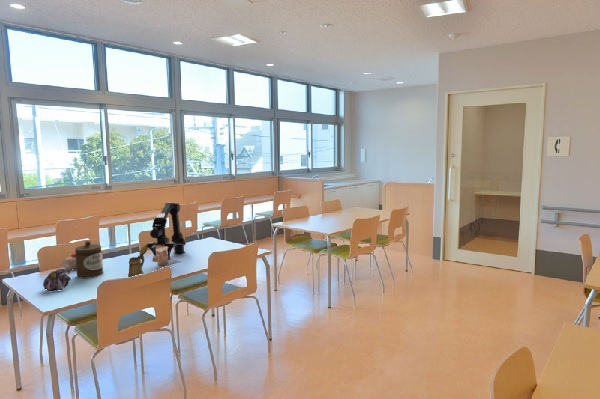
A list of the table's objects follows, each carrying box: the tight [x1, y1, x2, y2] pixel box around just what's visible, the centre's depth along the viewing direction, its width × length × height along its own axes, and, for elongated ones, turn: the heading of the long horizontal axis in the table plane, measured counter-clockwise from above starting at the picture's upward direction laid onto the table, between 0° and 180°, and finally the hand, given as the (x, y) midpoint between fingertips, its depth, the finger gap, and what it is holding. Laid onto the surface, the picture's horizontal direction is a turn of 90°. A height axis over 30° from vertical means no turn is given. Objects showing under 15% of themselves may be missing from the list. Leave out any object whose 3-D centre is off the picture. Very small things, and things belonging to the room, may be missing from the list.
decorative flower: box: [42, 268, 72, 292], centre depth 232 cm, size 14×12×15 cm
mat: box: [156, 259, 182, 267], centre depth 282 cm, size 13×9×1 cm
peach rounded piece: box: [154, 249, 168, 266], centre depth 276 cm, size 12×7×9 cm, turn 172°
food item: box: [62, 253, 77, 271], centre depth 271 cm, size 14×8×10 cm, turn 142°
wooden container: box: [75, 240, 104, 279], centre depth 256 cm, size 15×15×22 cm
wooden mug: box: [127, 244, 148, 278], centre depth 256 cm, size 9×14×18 cm, turn 142°
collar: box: [152, 253, 171, 262], centre depth 292 cm, size 12×12×2 cm
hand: (162, 257), depth 277 cm, fingers open, 9 cm apart
